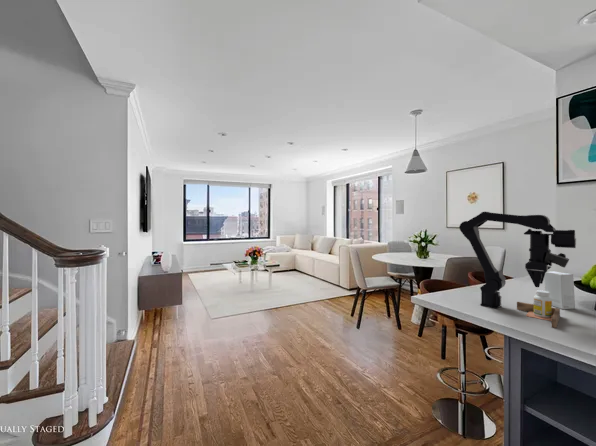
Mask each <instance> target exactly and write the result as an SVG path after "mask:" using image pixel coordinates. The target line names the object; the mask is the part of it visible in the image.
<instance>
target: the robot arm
mask: <svg viewBox="0 0 596 446" xmlns="http://www.w3.org/2000/svg"><path fill="white" fill-rule="evenodd" d="M488 221H490V222H498V223H504V224H505V223H506V224H514V225H515V224H516V225H520V226H524V227H526V228H528V229H527V230H526V231H524V232H523V235H525V236H526V235H529V249H528V251H529V259H528V262H525V264H524V266H525V271H526V272H527V274H528V275H529V277H530V280H531V281H532V283H533V285H534V287H535V288H540V285H541V284H543V283H544V276H545V273H546V272H548V270H550V269H551V268H552V267H553V264H555V265H558V266H559V267H562V268H566V267H567V265H568V263H569V260H570V258H568V257H567V256H566V254H565V253H562V252H560V253H558V254H556V253H552V251H551V248H550V244H551V245H553V246H554V247H555V248H561V249H562V248H568V249H576V246H577V238H576V230H575V229H567V230H565V229H561V230H560V229H559V230H558V229H556V228H555V227H554V226H553V225H552V224H551V220H550V218H549V217H548V216H546V215H545V214H544V215H543V214H529V215H528V214H527V215H518V214H517V215H516V214H509V213H508V214H507V213H499V212H490V211H482V212H480V213H479V214H477V215H475V216H473V218H471V219H469V220H466V221H465V220H464V221H462V222H461V223H460V224H459V230H460V232H461V234H462V235H463V237H465V239H467V240H468V241H469V243H470V245H471V247H472V249H473V251H474V254H475V256H476V257H477V258H476V259H477V260H478V261H479V263H480V265H481V268H482V270H483V274H484V275H483V277H484V281H485V283H484V284H483V285H481V286H480V287H479V289H480V291H481V293H480V294H481V295H480V296H481V300H480V304H479V305H480V306H483V307H488V308H494V309H499V308H500V307H501V306H502V296H501V295H500V294H501V293H500V291H501V289H503V288H504V287H505V285H506V281H507V277H505V275H504V273H503V270H502V269H500V270H498V269H497V268H496V267H495V265H494V264H493V261H492V260H491V257H490V255H489V254H488V252H487V250H486V248H485V246H484V244H483V242H482V239H481V236H480V230H479V228H480V227H481V226H483V225H484V224H485V223H486V222H488ZM532 229H534V230H532ZM543 231H544V233H543ZM545 232H546V233H545Z"/></svg>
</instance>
